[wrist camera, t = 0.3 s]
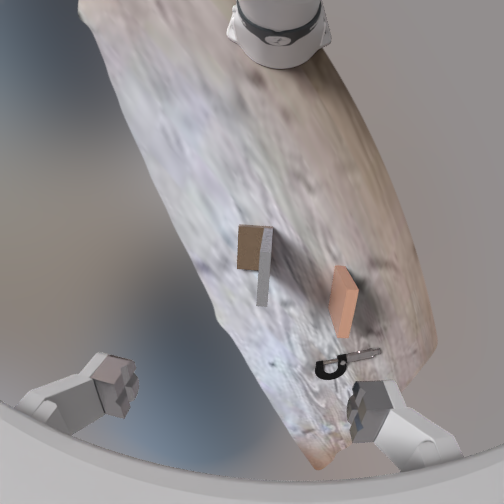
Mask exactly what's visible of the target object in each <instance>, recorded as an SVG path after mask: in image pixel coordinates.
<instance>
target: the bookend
mask: <svg viewBox="0 0 504 504" xmlns="http://www.w3.org/2000/svg"><path fill="white" fill-rule="evenodd" d="M272 233H273V227H270V226H256V225H241V224H240V225H239V231H238V255H237V269H246V270H259V274H258V290H257V305H256V306H264V307H267V302H268V289H269V277H270V264H271V250H272Z"/></svg>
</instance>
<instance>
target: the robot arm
mask: <svg viewBox="0 0 504 504" xmlns="http://www.w3.org/2000/svg"><path fill="white" fill-rule="evenodd" d="M236 1H237V3H236V5H234V6H233V9H232V11H233V15H232V17H231V20H230V23H229V26H228V29H227V37H228V38H229V39H230V40H231V41H233V42H235V43H237V44H238V45H239V46H240V47H241V48H242V49H243V51H244V52H245V53H246V55H247V56H248V57H249V58H251V59H252V60H253V61H255V62H256V63H258V64H260V65H263V66H266V67H270V68H276V69H285V68H292V67H295V66H298V65H300V64H302V63H304V62H306V61H307V60H308V59H310V58H311V57H312V56H313V54H314V53H315V52H316V51H317V50H318V49H320V48H323V47H325V46H327V45H329V44H330V43H331V34H330V30H329V26H328V22H327V18H326V14H325V10H324V7H323V3H322V0H236ZM233 29H234V30H233ZM324 33H325V35H324ZM135 369H136V366H135V362H134V361H133V360H130V359H126V358H122V357H118V356H114V355H109V354H106V353H102V352H99V353H96V354H95V356H94V357H93V358H92V359H91V360H90V362H89V363H88V364H87V365H86V366H85V368H84V369H83V370H82V371H81V372H80V373H79V375H78V374H74V375H71V376H68V377H66V378H63V379H61V380H58V381H55V382H52V383H50V384H47V385H44V386H41V387H39V388H36V389H33V390H30V391H29V392H28V393H27V394H26V395H25V396H24V397H23V398H22V399H21V401H20V402H19V403H18V404H17V405H16V406H15V407H14V408H13V407H11V406H10V405H8V404H6V403H4V402H3V401H1V400H0V504H504V444H502V445H499V446H496V447H494V448H491V449H488V450H486V451H483V452H480V453H477V454H474V455H470V456H467V457H464V456H463V454H462V452H461V450H460V448H459V446H458V443H457V441H456V439H455V437H454V436H453V435H452V434H450V433H449V432H447V431H446V430H444V429H443V428H441V427H440V426H438V425H437V424H435V423H433V422H432V421H430V420H429V419H427V418H426V417H424V416H423V415H421V414H420V413H418V412H417V411H415V410H414V409H412V408H411V407H408V408H407V406H406V404H405V402H404V399H403V397H402V395H401V393H400V390H399V388H398V386H397V384H396V382H395V380H393V379H390V380H381V381H380V380H378V381H356V382H355V383H354V385H353V388H352V391H353V395H352V396H351V397H350V398H349V400H348V404H347V420H348V422H349V423H350V424H352V425H351V428H350V434H351V439H352V443H365V442H374V444H375V445H376V446H377V447H378V448H379V449H380V450H381V451H382V452H383V453H384V454H385V455H386V456H387V457H388V458H389V459H390V460H391V461H392V462H393V463H394V464H395V465H396V466H397V467H398V468H399V469H400V470H401V471H400V473H395V474H389V475H382V476H374V477H365V478H356V479H344V480H326V481H276V480H258V479H245V478H236V477H227V476H220V475H212V474H206V473H200V472H194V471H188V470H184V469H179V468H174V467H169V466H164V465H160V464H156V463H152V462H148V461H145V460H141V459H137V458H134V457H130V456H127V455H123V454H120V453H117V452H114V451H111V450H108V449H105V448H102V447H99V446H97V445H94V444H91V443H88V442H86V441H83V440H81V439H78V438H76V437H73V436H72V435H73V434H74V433H76V432H78V431H79V430H81V429H83V428H84V427H86V426H88V425H89V424H91V423H92V422H94V421H95V420H97V419H99V418H100V417H102V416H103V415H105V414H108V415H112V416H115V417H119V418H123V419H124V418H125V416H126V415H127V413H128V411H129V409H130V403H129V402H131V401H133V400H135V398H136V396H137V394H138V389H139V380H138V377H137V376H136V375H135V373H134V371H135Z"/></svg>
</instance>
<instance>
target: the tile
mask: <svg viewBox="0 0 504 504" xmlns="http://www.w3.org/2000/svg"><path fill="white" fill-rule="evenodd" d="M358 293H359V289H358V288H357V286H356V284H355V282H354V281H353V279H352V277H351V275H350V274H349V272H348V270H347V269H346V267H345V266H335V268H334V275H333V282H332V288H331V294H330V300H329V306H328V309H329V312H330V315H331V319H332V322H333V325H334V329H335V332H336V335H337V338H349V334H350V330H351V325H352V321H353V317H354V312H355V307H356V302H357V298H358Z"/></svg>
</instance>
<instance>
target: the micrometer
mask: <svg viewBox="0 0 504 504" xmlns="http://www.w3.org/2000/svg"><path fill="white" fill-rule="evenodd" d="M376 354H380V348H378V349H375V350H373V349H372V348H370V349H367V350H362V351H357V352H353V353H348V354H347V355H346V354H343V355H338V356H337V359H331V360H326V361H318V362H316V368H315V374H316V375H317V377H319V378H320V379H324V380H332V379H335V378H338V377H340V376H341V375H342V374H343V373H344V372H345V370H346V363H347V362H353V361H359V360H362V359H367V358H372V357H374V355H376ZM335 362H338V369H337V370H336V371H335V372H334V373H330V374H329V373H326V372H324V370H323V365H324V364H329V363H335Z"/></svg>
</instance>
